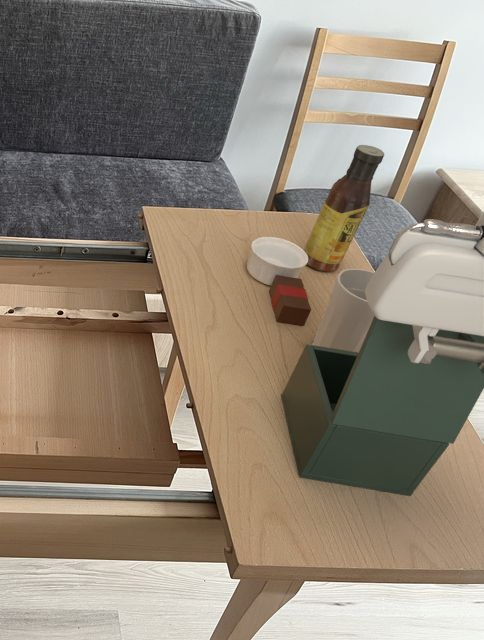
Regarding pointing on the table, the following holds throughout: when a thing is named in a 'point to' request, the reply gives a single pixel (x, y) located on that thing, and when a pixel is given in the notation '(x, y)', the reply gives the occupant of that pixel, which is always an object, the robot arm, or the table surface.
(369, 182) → the sauce bottle
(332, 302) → the cup
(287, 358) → the table surface
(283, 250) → the ramekin
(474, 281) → the robot arm
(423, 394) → the bin lid
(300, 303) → the chocolate bar
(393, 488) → the trash can
